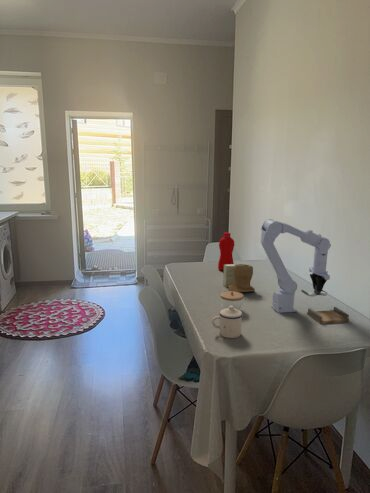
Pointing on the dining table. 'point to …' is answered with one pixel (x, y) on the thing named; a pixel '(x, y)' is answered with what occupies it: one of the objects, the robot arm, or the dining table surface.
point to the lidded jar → (231, 299)
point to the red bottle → (225, 251)
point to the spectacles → (315, 292)
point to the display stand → (329, 316)
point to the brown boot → (242, 278)
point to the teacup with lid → (229, 322)
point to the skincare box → (228, 275)
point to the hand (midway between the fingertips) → (317, 290)
